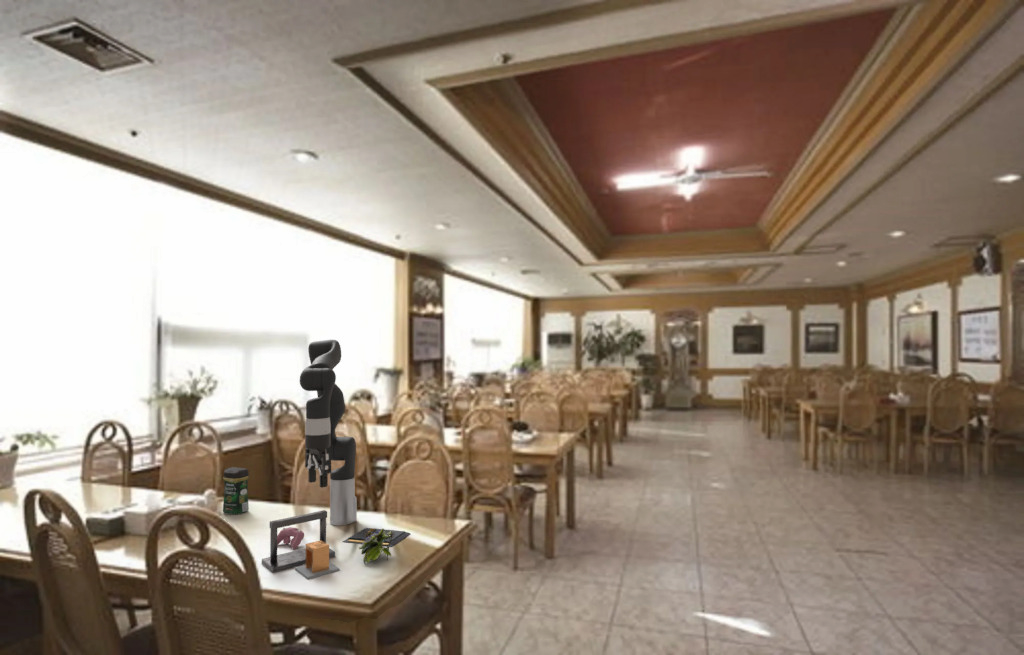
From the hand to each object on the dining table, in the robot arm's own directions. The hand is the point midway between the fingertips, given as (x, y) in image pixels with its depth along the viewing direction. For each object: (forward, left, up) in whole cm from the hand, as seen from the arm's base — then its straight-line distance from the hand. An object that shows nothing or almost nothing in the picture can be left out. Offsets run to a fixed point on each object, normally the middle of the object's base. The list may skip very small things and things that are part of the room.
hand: (317, 484), depth 177 cm
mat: (0, +1, -26) cm, 26 cm away
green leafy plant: (-18, +5, -26) cm, 32 cm away
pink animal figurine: (-1, -27, -26) cm, 38 cm away
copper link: (0, +1, -25) cm, 25 cm away
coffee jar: (0, -82, -26) cm, 87 cm away
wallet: (-28, -14, -27) cm, 41 cm away
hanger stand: (+1, -11, -26) cm, 29 cm away
